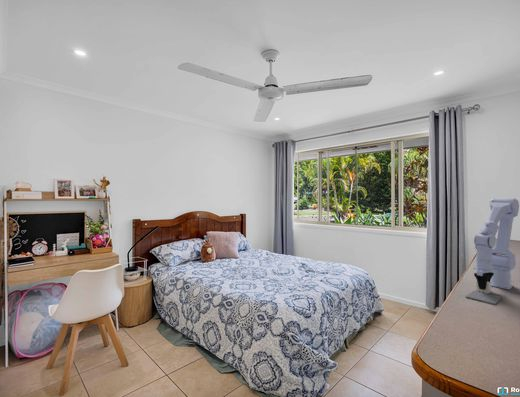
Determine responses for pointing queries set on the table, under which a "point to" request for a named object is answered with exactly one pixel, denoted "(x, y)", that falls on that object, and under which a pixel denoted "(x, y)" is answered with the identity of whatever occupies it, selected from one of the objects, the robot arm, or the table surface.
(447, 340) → the table surface
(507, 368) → the table surface
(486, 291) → the cream cube
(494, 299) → the gray mat
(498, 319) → the table surface
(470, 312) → the table surface
